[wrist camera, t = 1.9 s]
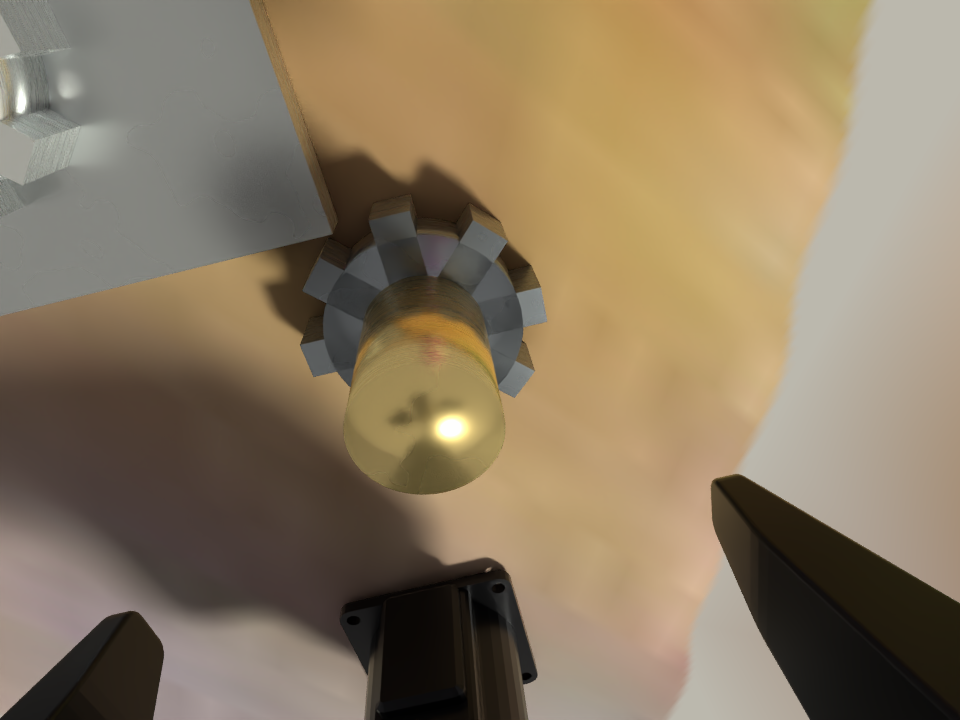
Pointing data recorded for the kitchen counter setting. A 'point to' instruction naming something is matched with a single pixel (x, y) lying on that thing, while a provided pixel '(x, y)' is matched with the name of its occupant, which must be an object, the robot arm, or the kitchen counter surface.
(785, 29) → the kitchen counter surface
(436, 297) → the gear
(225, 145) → the carrier
